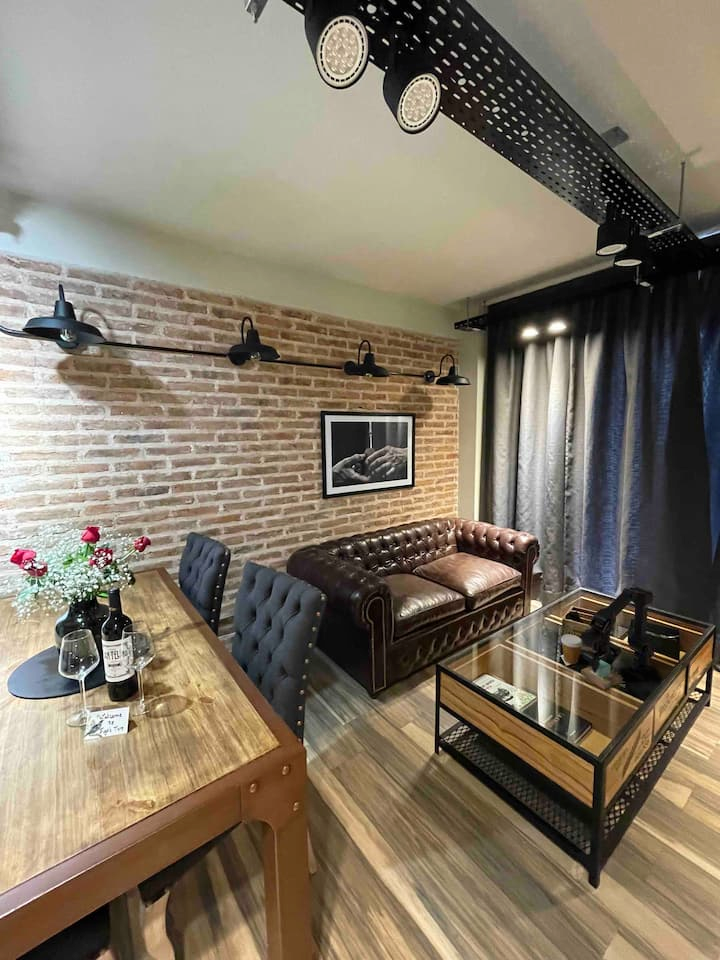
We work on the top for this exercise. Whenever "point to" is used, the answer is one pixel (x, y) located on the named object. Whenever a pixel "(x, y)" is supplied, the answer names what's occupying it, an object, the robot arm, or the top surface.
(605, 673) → the teal cube
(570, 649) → the disposable coffee cup
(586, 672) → the walnut base
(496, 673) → the top surface
